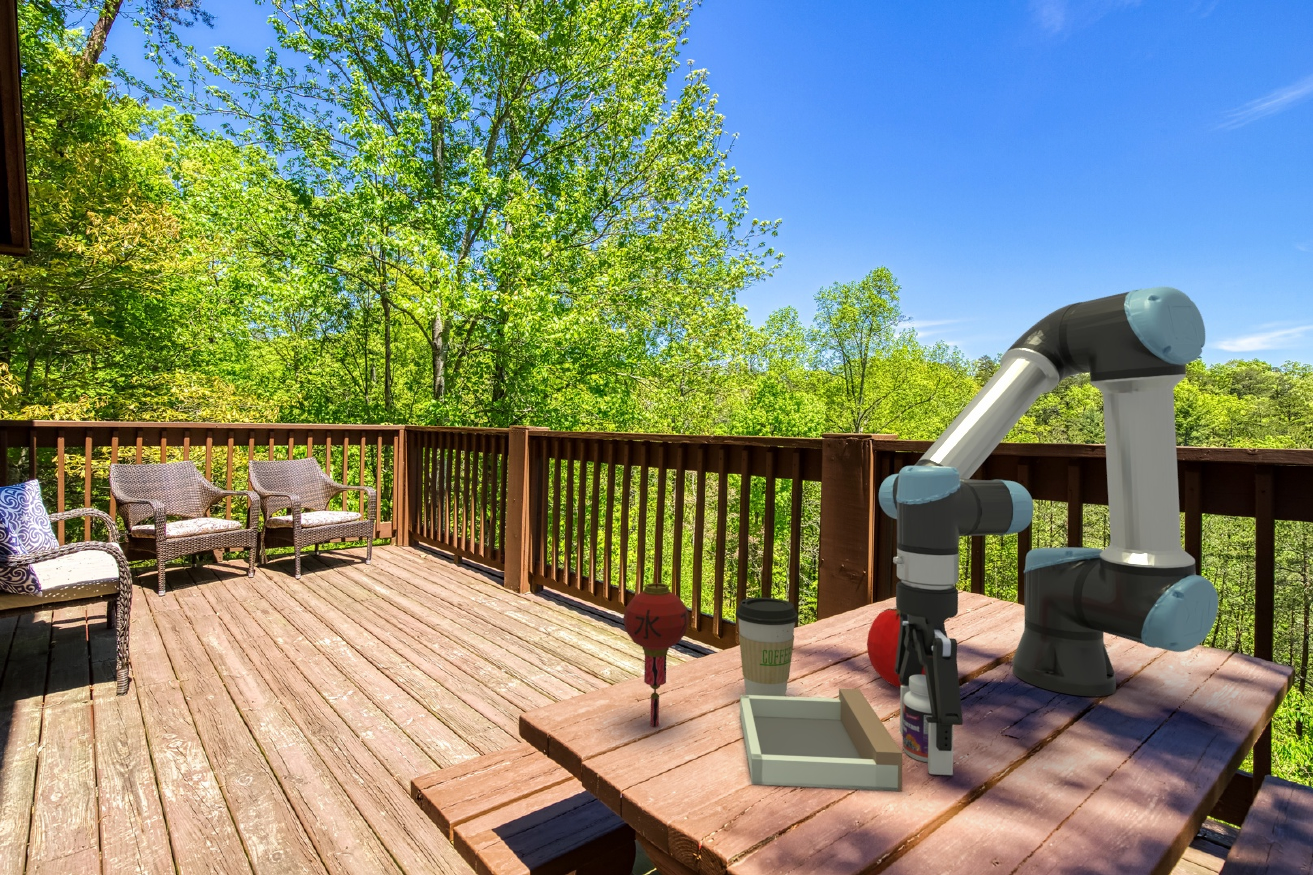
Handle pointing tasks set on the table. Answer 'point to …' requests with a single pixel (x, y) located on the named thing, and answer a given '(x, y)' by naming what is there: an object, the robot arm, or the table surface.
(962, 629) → the table surface
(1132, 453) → the robot arm
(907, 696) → the pill bottle
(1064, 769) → the table surface
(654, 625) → the lantern
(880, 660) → the tomato
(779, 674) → the coffee cup
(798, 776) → the tray
